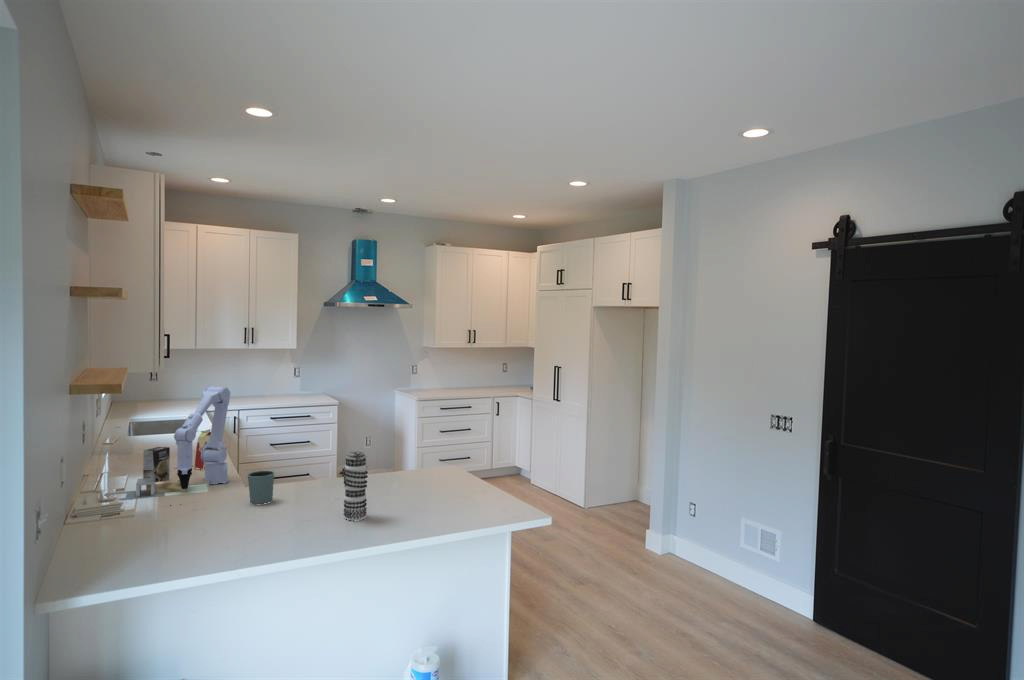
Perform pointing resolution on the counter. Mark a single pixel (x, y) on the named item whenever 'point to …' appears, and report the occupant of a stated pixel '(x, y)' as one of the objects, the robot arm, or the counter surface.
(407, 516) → the counter surface
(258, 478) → the green cup
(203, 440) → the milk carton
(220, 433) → the robot arm
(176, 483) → the oak bar
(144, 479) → the tunnel
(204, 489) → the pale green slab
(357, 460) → the striped cylindrical tower
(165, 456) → the coffee box
